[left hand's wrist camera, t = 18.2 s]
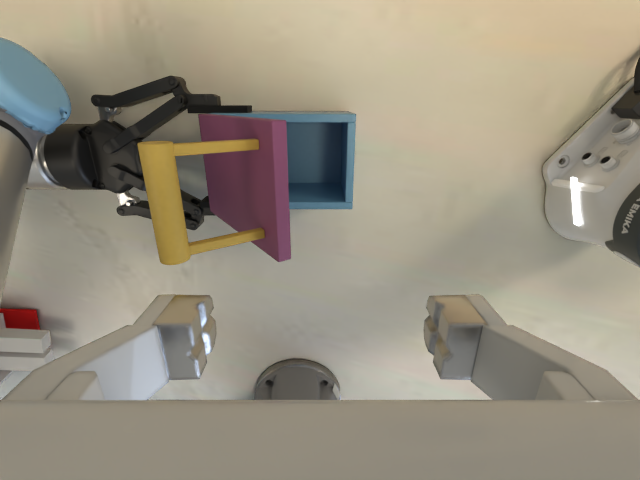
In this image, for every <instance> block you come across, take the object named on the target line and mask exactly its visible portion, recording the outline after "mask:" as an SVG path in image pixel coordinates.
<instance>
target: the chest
mask: <svg viewBox="0 0 640 480" xmlns="http://www.w3.org/2000/svg"><path fill="white" fill-rule="evenodd" d="M209 114H217V115H229V116H241V117H254V118H266V119H279V120H286V127H287V157H288V187H289V209H352V201H353V177H354V151H355V126H356V123H355V122H356V114H354V113H351V112H348V111H252V112H251V113H209Z"/></svg>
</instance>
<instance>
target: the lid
mask: <svg viewBox="0 0 640 480" xmlns="http://www.w3.org/2000/svg"><path fill="white" fill-rule="evenodd" d="M199 124H200V132H201V140H202V142H191V143H174V144H173V142H171V141H147V142H140V143H138V144H137V145H138V150H139V156H140V161H141V166H142V171H143V176H144V181H145V186H146V192H147V197H148V202H149V207H150V212H151V217H152V222H153V228H154V233H155V238H156V243H157V248H158V253H159V258H160V262H161V263H162V264H165V265H176V264H180V263H183V262H186V261H187V260H189V259H190V257H191V256H190V255H193V254H197V253H202V252H206V251H210V250H215V249H219V248H223V247H228V246H232V245H236V244H241V243H245V242H249V241H251V242H252V243H254V244H255V245H256V246H258V247H259V248H260V249H262V250H263V251H264V252H266V253H267V254H268V255H270V256H271V257H272V258H274V259H275V260H276V261H278V262H281V261H285V260H288V259H291V246H290V216H289V187H288V157H287V127H286V120H279V119H266V118H254V117H241V116H229V115H217V114H199ZM197 154H203V156H204V164H205V172H206V180H207V188H208V196H209V204H210V211H211V212H212V213H214V214H215V215H216V216H218V217H219V218H220V219H222V220H223V221H224V222H226V223H227V224H228V225H230V226H231V227H232V228H234V229H235V230H236V231H238V233H233V234H228V235H224V236H219V237H214V238H209V239H205V240H200V241H195V242H191V243H188V237H187V230H186V224H185V217H184V211H183V205H182V198H181V192H180V185H179V179H178V173H177V166H176V160H175V156H184V155H197Z"/></svg>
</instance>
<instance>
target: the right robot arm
mask: <svg viewBox="0 0 640 480" xmlns="http://www.w3.org/2000/svg"><path fill="white" fill-rule="evenodd" d="M172 92H173V94H174V96H175V97H173V98H172V99H171V100H169V101H168V102H166V103H165V104H163V105H162V106H160V107H159V108H158V109H156V110H155V111H153V112H152V113H150V114H149V115H147V116H146V117H145V118H143V119H142V120H140V121H139V122H137V123H136V124H134V125H133V126H130V127H128V128H127V129H126V128H124V127H123V126H121V125H120V124H118V123H117V122H115V121H113V118H114V116H115V115H118V114H120V113H121V111H122V108H121V107H129V106H133V105H136V104H139V103H142V102H145V101H148V100H151V99H154V98H157V97H160V96H163V95H166V94H169V93H172ZM91 101H92V103H93V105H95V106H97V107H98V111H99V117H100V121H98V122H96V123H95V124H62V123H64V122H65V121H66V120H67V119H68V118H69V116H70V114H71V103H70V99H69V96H68V94H67V92H66V90H65V88H64V86H63V85H62V83H61V82H60V80H59V79H58V78H57V77H56V75H55V74H54V73H53V72H52V71H51V70H50V69H49V68H48V67H47V66H46V65H45V64H44V63H42V62H41V61H40V60H39V59H38V58H36V57H35V56H34V55H33V54H32V53H31V52H29V51H28V50H26V49H25V48H23V47H22V46H20V45H18V44H16V43H14V42H12V41H9V40H7V39H4V38H0V305H1V300H2V296H3V291H4V287H5V282H6V278H7V273H8V269H9V264H10V260H11V255H12V251H13V246H14V241H15V237H16V232H17V228H18V223H19V219H20V214H21V210H22V205H23V201H24V196H25V192H26V189H54V190H65V189H73V190H109V191H112V192H114V193H117V196H118V200H119V203H120V206H119V207H118V208H117V213H118V214H119V215H121V216H127V215H138V216H142V217H146V218H150V219H152V217H151V212H150V207H149V202H148V201H143V200H140V198H139V197H136V196H132V195H131V194H130V193H129V190H130V189H131V188H132V187H136V188H138V189H139V190H142V191H146V186H145V181H144V176H143V171H142V166H141V161H140V156H139V150H138V145H137V144H138V143H140V142H142V140H143V139H144V138H146V137H147V136H149V135H150V134H151V133H152V132H153V131H155V130H156V129H158V128H159V127H161V126H162V125H163V124H165V123H166V122H168V121H169V120H171V119H172V118H174V117H175V116H177V115H178V114H180V113H181V112H183V111H184V110H186V109H188V113H251V112H252V106H221V100H220V96H218V95H214V94H191V93H190V92H189V91H188V89H187V87H186V82H185V80H184V79H183V78H181V77H176V76H168V77H165V78H162V79H159V80H156V81H153V82H150V83H147V84H144V85H142V86H139V87H136V88H133V89H130V90H127V91H124V92H121V93H118V94H115V95H93V96H92V97H91ZM180 192H181V198H182V205H183V210H184V217H185V224H186V228H187V229H191V230H196V229H197V228H198V227H199V226H200V225H201V224H202V223H203V222H204V215H215V214H214V213H212V212H211V211H210V204H209V196H206V197H205V198H204V199H203V200H199V199H197V198H195V197H194V196H192V195H190V194H188V193H186V192H184V191H182V190H180ZM255 400H340V387H339V383H338V381H337V379H336V377H335V376H334V375H333V374H332V372H331V371H329V370H328V369H327V368H326V367H324V366H322V365H320V364H318V363H316V362H313V361H309V360H303V359H292V360H285V361H282V362H279V363H276V364H274V365H272V366H271V367H269V368H268V369H267V370H266V371H265V372H264V373H263V374H262V375H261V377H260V378H259V380H258V383H257V387H256V392H255Z"/></svg>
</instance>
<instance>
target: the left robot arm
mask: <svg viewBox="0 0 640 480" xmlns="http://www.w3.org/2000/svg"><path fill="white" fill-rule="evenodd" d="M561 158H562V161H561V163H559V160H560V159H561ZM542 171H543V177H544V180H545V183H546V195H545V214H546V218H547V220H548V222H549V224H550V226H551V227H552V228H553V230H554V231H555V232H557V233H558V234H559V235H561V236H563V237H565V238H567V239H570V240H575V241H583V242H588V243H592V244H595V245H599V246H602V247H605V248H608V249H610V250H611V251H612V252H613V253H614V254H615V255H617V256H619V257H621V258H622V259H624V260H626V261H628V262H630V263H632V264H634V265H636V266H638V267H640V58H639V60H638V62H637V65H636V69H635V75H634V78H632V79H631V80H630V81H629V82H628V83H627V84H626V85H625V86H624V87H622V88H621V89H620V90H619V91H618V92H617V93H616V94H615V95H614V96H613V97H612V98H611V99H610V100H609V101H608V102H607V103H606V104H605V105H604V106H603V107H602V108H601V109H600V110H599V111H598V112H597V113H596V114H594V115H593V116H592V117H591V118H590V119H589V120H588V121H587V122H586V123H585V124H584V125H583V126H582V127H581V128H580V129H579V130H578V131H577V132H576V133H575V134H574V135H573V136H572V137H571V138H570V139H569V140H568V141H567V142H565V143H564V144H563V145H562V146H561V147H560V148H559V149H558V150H557V151H556V152H555V153H554V154H553V155H552V156H551V157H550V158H549V159H548V160H547V161H546V162H545V163H544V165H543V169H542ZM213 308H214V307H213V301H212V298H211V297H210V295H158V296H157V297H156V298H155V299H154V301H153V302H152V303H151V304H150V305H149V306H148V308H147V309H146V310H145V311H144V312H143V313H142V315H141V316H140V317H139V318H138V319H137V321H136V322H135V323H134V324H133V325H127V326H125V327H123V328H120V329H118V330H116V331H114V332H112V333H110V334H108V335H106V336H104V337H102V338H99V339H97V340H95V341H93V342H91V343H89V344H87V345H85V346H83V347H81V348H78V349H76V350H74V351H72V352H70V353H68V354H66V355H64V356H62V357H60V358H57V359H55V360H53V361H51V362H49V363H47V364H45V365H43V366H41V367H39V368H36V369H34V370H33V371H32V372H31V373H30V374H29V375H28V376H27V377H26V378H25V379H23V380H22V381H21V382H20V383H19V384H18V385H17V386H16V387H15V388H14V389H13V390H12V391H10V392H9V393H8V394H7V395H6V396H5V397H4V398H3V399H2V400H0V480H640V400H638V399H637V398H636V397H635V396H634V395H633V394H632V393H631V392H630V391H629V390H627V389H626V388H625V387H624V386H623V385H622V384H621V383H620V382H619V381H618V380H617V379H616V378H615V377H613V376H612V375H611V374H610V373H609V372H608V371H607V370H605V369H603V368H601V367H599V366H597V365H595V364H593V363H591V362H589V361H586V360H584V359H582V358H580V357H578V356H576V355H574V354H572V353H570V352H568V351H566V350H563V349H561V348H559V347H557V346H555V345H553V344H551V343H549V342H547V341H545V340H543V339H540V338H538V337H536V336H534V335H532V334H530V333H528V332H526V331H524V330H522V329H520V328H517V327H515V326H513V325H507V324H506V323H505V322H504V321H503V319H502V318H501V317H500V316H499V315H498V314H497V312H496V311H495V310H494V309H493V308H492V307H491V305H490V304H489V303H488V302H487V301H486V300H485V298H484V297H483V296H481V295H479V294H476V295H442V296H429V298H428V301H427V307H426V308H427V310H428V312H429V314H430V315H429V316H428V317H427V318H426V319H425V322H424V340H425V344H426V347H427V349H428V351H429V352H430V353H431V354H433V355H434V359H433V363H434V365H435V368H436V370H437V372H438V374H439V377H440V379H455V380H471V382H472V383H474V384H475V385H476V386H477V387H478V388H480V389H481V390H482V391H483V392H484V393H485V394H487V395H488V396H489V397H490V398H491V399H493V400H148V399H149V398H150V397H151V396H152V395H153V394H155V393H156V392H157V391H158V390H159V389H161V388H162V387H163V386H164V385H165V384H167V383H168V382H169V380H185V379H200V377H201V374H202V372H203V370H204V368H205V365H206V363H207V359H206V355H207V354H209V353H210V352H211V351H212V349H213V347H214V344H215V339H216V322H215V320H214V318H213V317H212V316H211V315H210V314H211V312H212V310H213Z"/></svg>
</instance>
